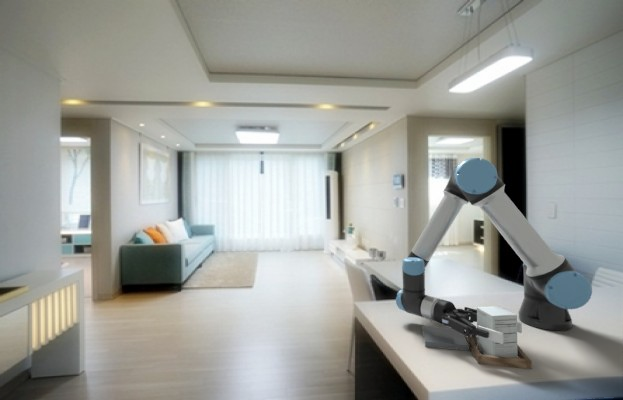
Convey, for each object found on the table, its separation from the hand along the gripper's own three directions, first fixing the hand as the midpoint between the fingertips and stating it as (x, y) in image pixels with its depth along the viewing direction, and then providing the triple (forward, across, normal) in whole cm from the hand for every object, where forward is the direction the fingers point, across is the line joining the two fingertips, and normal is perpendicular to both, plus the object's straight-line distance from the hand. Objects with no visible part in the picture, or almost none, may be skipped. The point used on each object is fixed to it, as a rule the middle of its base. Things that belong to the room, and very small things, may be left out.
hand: (512, 333), depth 86 cm
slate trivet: (-19, +3, -8) cm, 20 cm away
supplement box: (-4, 0, -8) cm, 9 cm away
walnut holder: (-4, 0, -8) cm, 9 cm away
